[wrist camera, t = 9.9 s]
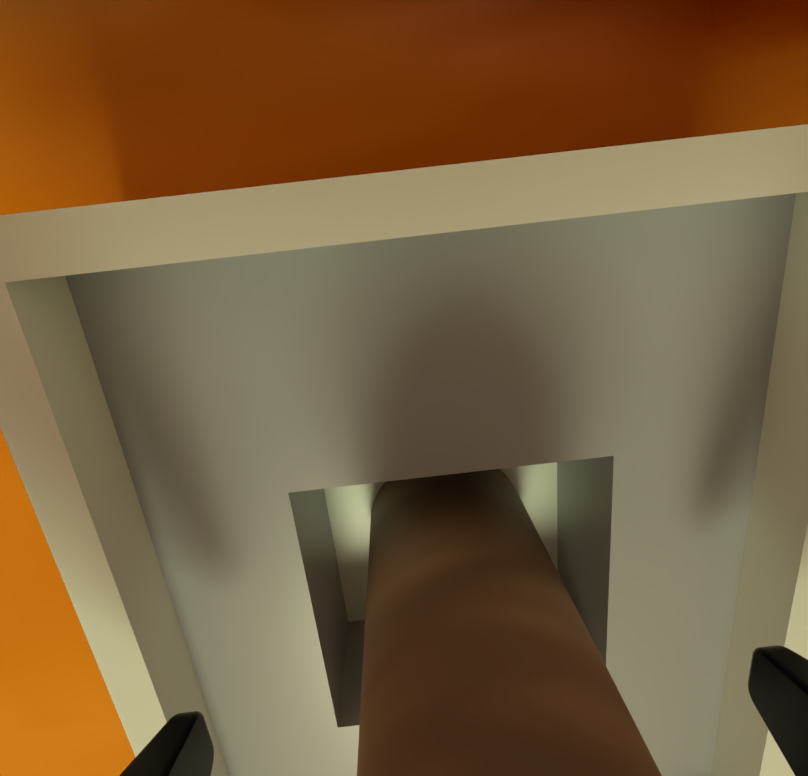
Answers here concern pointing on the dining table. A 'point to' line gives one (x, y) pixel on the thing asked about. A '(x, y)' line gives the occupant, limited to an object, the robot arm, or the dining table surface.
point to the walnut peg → (480, 645)
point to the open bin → (423, 424)
